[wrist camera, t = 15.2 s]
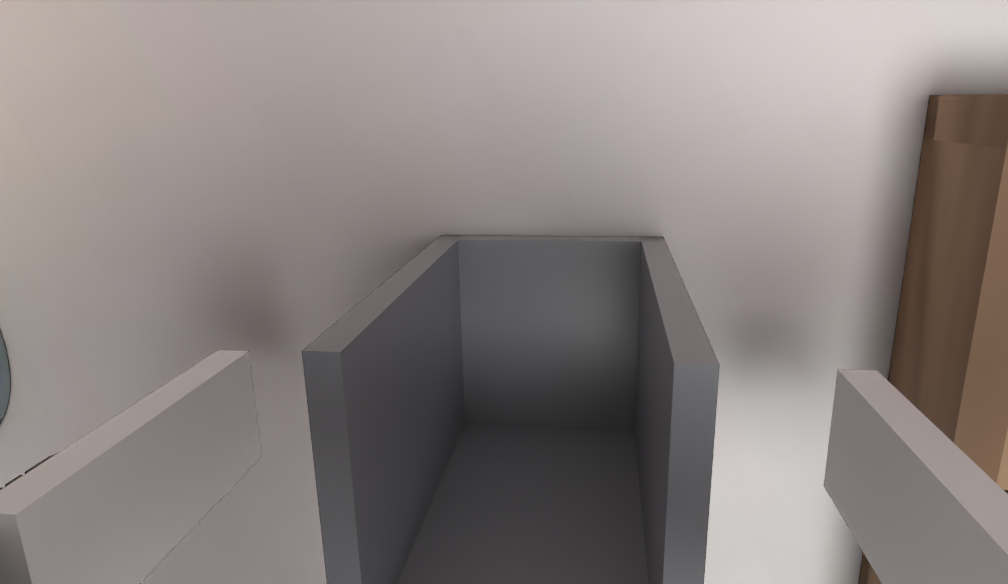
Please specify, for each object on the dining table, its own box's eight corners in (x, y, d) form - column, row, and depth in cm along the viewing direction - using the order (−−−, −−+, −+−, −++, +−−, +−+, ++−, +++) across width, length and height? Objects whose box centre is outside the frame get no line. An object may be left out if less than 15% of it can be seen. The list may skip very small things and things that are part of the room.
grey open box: (450, 432, 20) (336, 676, 12) (440, 235, 19) (301, 351, 10) (654, 442, 19) (694, 713, 11) (663, 236, 18) (719, 363, 9)
